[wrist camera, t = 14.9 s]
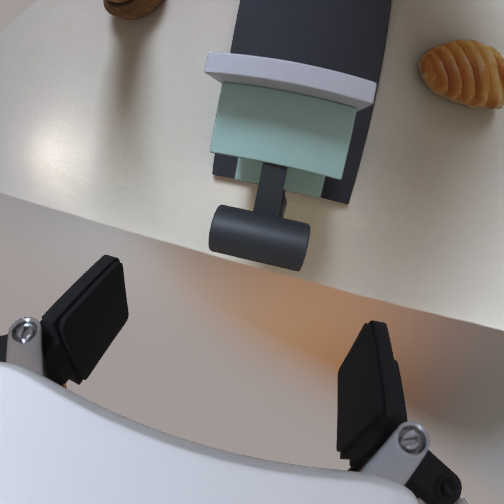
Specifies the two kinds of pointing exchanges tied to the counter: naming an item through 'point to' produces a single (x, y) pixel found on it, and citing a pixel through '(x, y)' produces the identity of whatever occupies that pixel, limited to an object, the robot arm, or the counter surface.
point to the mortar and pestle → (131, 7)
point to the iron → (279, 147)
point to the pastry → (465, 73)
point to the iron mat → (317, 57)
